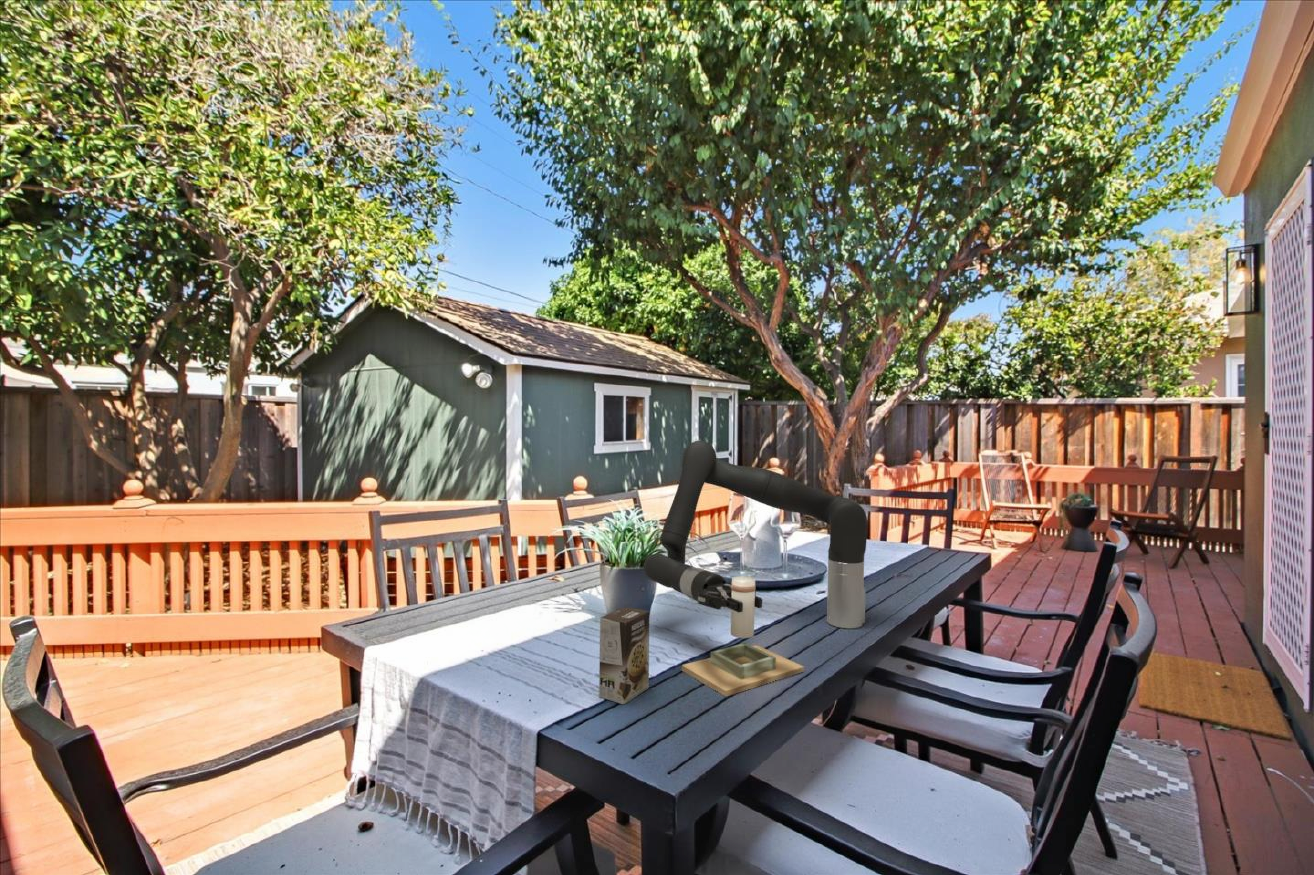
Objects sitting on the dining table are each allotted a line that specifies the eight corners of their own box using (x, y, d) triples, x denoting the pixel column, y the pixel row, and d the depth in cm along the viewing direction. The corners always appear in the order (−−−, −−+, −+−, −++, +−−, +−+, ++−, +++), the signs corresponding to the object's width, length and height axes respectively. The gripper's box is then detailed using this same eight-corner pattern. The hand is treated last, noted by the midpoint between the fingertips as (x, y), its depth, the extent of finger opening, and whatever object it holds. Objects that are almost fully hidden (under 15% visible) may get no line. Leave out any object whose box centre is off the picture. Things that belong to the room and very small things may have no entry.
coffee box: (624, 705, 123) (625, 623, 122) (598, 697, 126) (598, 617, 125) (650, 688, 131) (650, 610, 130) (624, 680, 134) (624, 605, 133)
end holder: (756, 650, 152) (756, 634, 151) (803, 672, 139) (804, 655, 139) (681, 670, 139) (681, 653, 139) (725, 696, 127) (726, 678, 127)
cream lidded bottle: (743, 628, 142) (744, 575, 142) (759, 635, 138) (760, 580, 137) (725, 632, 140) (726, 578, 139) (741, 640, 135) (742, 584, 135)
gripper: (678, 574, 146) (725, 593, 132) (726, 566, 154) (776, 583, 140) (677, 606, 147) (725, 628, 132) (725, 597, 155) (775, 617, 140)
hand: (751, 605), depth 136 cm, fingers closed on cream lidded bottle, 5 cm apart
